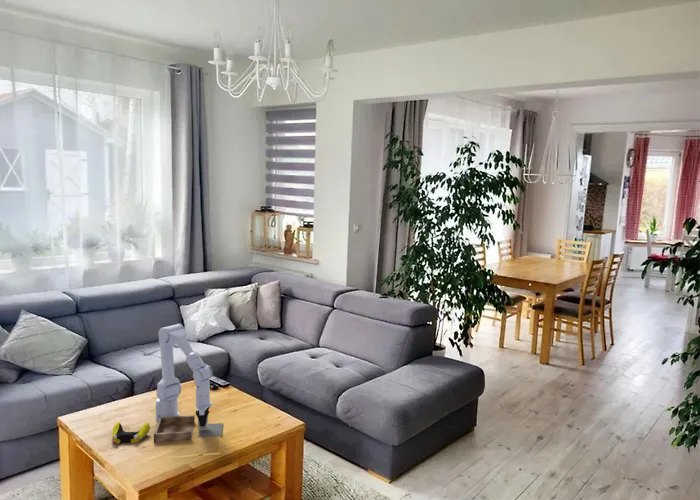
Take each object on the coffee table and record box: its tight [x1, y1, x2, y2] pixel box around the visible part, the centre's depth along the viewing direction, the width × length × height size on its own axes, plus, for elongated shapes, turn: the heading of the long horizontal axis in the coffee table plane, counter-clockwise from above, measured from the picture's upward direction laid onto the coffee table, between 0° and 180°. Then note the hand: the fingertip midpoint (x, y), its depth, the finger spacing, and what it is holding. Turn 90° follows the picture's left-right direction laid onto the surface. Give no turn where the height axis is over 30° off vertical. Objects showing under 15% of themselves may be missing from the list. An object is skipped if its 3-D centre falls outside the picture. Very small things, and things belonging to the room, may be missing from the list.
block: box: [197, 415, 209, 431], centre depth 231 cm, size 4×4×6 cm
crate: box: [153, 414, 196, 443], centre depth 229 cm, size 15×16×4 cm
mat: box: [197, 422, 224, 438], centre depth 232 cm, size 10×12×1 cm
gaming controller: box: [111, 422, 151, 444], centre depth 223 cm, size 15×6×10 cm
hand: (203, 423), depth 231 cm, fingers closed on block, 4 cm apart
